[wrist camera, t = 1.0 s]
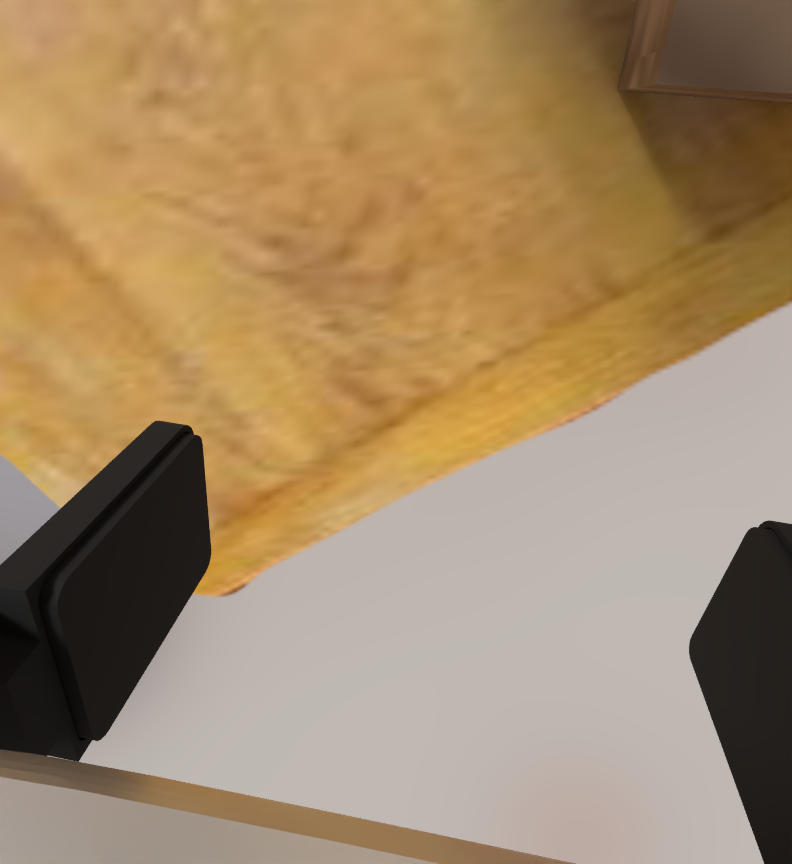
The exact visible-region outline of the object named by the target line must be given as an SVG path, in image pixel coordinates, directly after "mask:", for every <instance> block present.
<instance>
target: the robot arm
mask: <svg viewBox="0 0 792 864" xmlns="http://www.w3.org/2000/svg"><path fill="white" fill-rule="evenodd" d="M210 558H211V542H210V529H209V517H208V505H207V493H206V481H205V468H204V456H203V444H202V439H201V437H200V436H198V435H194V433H193V430H192V428H191V427H190V426H188V425H182V424H176V423H170V422H164V421H155V422H153V423H152V424H151V425H150V426H149V427H147V428H146V429H145V430H144V431H143V432H142V433H141V434H140V435H139V436H138V437H137V438H136V439H135V440H134V441H133V442H131V443H130V444H129V445H128V446H127V447H126V448H125V449H124V450H123V451H122V452H121V453H120V454H119V455H118V456H117V457H115V458H114V459H113V460H112V461H111V462H110V463H109V464H108V465H107V466H106V467H105V468H104V469H103V470H102V471H100V472H99V473H98V474H97V475H96V476H95V477H94V478H93V479H92V480H91V481H90V482H89V483H88V484H87V485H86V486H84V487H83V488H82V489H81V490H80V491H79V492H78V493H77V494H76V495H75V496H74V497H73V498H72V499H71V500H70V501H68V502H67V503H66V504H65V505H64V506H63V507H62V508H61V509H60V510H59V511H58V512H57V513H56V514H55V515H54V516H52V517H51V518H50V519H49V520H48V521H47V522H46V523H45V524H44V525H43V526H42V527H41V528H40V529H39V530H37V532H35V533H34V534H33V535H32V536H31V537H30V538H29V539H28V540H27V541H26V542H25V543H24V544H23V545H21V546H20V548H18V549H17V550H16V551H15V552H14V553H13V554H12V555H11V556H10V557H9V558H8V559H7V560H5V561H4V562H3V563H2V564H1V565H0V864H575V863H570V862H565V861H560V860H555V859H551V858H546V857H541V856H537V855H531V854H527V853H522V852H518V851H513V850H508V849H503V848H499V847H494V846H489V845H484V844H479V843H475V842H470V841H465V840H460V839H456V838H451V837H447V836H442V835H437V834H432V833H428V832H423V831H418V830H413V829H408V828H403V827H398V826H394V825H389V824H385V823H380V822H374V821H370V820H366V819H361V818H356V817H351V816H346V815H341V814H336V813H332V812H327V811H322V810H317V809H312V808H307V807H303V806H297V805H292V804H288V803H283V802H278V801H273V800H268V799H263V798H259V797H254V796H249V795H244V794H239V793H234V792H229V791H224V790H220V789H214V788H210V787H204V786H199V785H195V784H190V783H185V782H180V781H176V780H171V779H166V778H161V777H156V776H151V775H145V774H140V773H135V772H129V771H124V770H119V769H113V768H108V767H102V766H97V765H91V764H86V763H81V762H79V760H80V758H81V757H82V755H83V754H84V752H85V751H86V749H87V747H88V746H89V744H90V743H91V741H92V740H95V741H98V740H101V739H102V738H103V737H104V736H105V735H106V733H107V732H108V731H109V729H110V727H111V726H112V724H113V723H114V721H115V719H116V718H117V716H118V714H119V713H120V711H121V709H122V708H123V706H124V704H125V703H126V701H127V699H128V698H129V696H130V695H131V693H132V691H133V690H134V688H135V687H136V685H137V683H138V682H139V680H140V678H141V677H142V675H143V674H144V672H145V670H146V669H147V667H148V665H149V664H150V662H151V660H152V659H153V657H154V655H155V654H156V652H157V651H158V649H159V647H160V646H161V644H162V642H163V641H164V639H165V638H166V636H167V634H168V633H169V631H170V629H171V628H172V626H173V624H174V623H175V621H176V620H177V618H178V616H179V615H180V613H181V611H182V610H183V608H184V606H185V605H186V603H187V602H188V600H189V598H190V597H191V595H192V593H193V592H194V590H195V588H196V587H197V585H198V584H199V582H200V580H201V579H202V577H203V575H204V574H205V572H206V570H207V568H208V565H209V562H210ZM689 654H690V659H691V662H692V665H693V668H694V671H695V673H696V676H697V679H698V682H699V684H700V687H701V690H702V693H703V695H704V698H705V701H706V704H707V706H708V709H709V712H710V715H711V718H712V720H713V723H714V726H715V729H716V731H717V734H718V737H719V740H720V742H721V745H722V748H723V751H724V753H725V756H726V759H727V762H728V764H729V767H730V770H731V773H732V775H733V778H734V781H735V784H736V787H737V789H738V792H739V795H740V797H741V800H742V803H743V806H744V809H745V811H746V814H747V817H748V820H749V822H750V825H751V828H752V831H753V833H754V836H755V839H756V842H757V844H758V847H759V850H760V853H761V856H762V858H763V861H764V864H792V524H787V523H781V522H775V521H765V522H763V523H762V524H760V526H759V527H758V528H757V527H753V528H751V529H749V530H748V532H747V533H746V535H745V536H744V538H743V540H742V542H741V544H740V546H739V548H738V550H737V552H736V554H735V555H734V557H733V559H732V561H731V563H730V565H729V567H728V569H727V570H726V572H725V574H724V576H723V578H722V580H721V582H720V584H719V586H718V587H717V589H716V591H715V593H714V595H713V597H712V599H711V601H710V603H709V605H708V607H707V608H706V610H705V612H704V614H703V616H702V618H701V620H700V621H699V623H698V625H697V627H696V629H695V631H694V633H693V635H692V637H691V639H690V645H689ZM47 755H49V756H54V757H58V758H54V757H48V756H47ZM59 758H63V759H59ZM65 759H68V760H65ZM70 760H73V761H70ZM75 761H77V762H75Z"/></svg>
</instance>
